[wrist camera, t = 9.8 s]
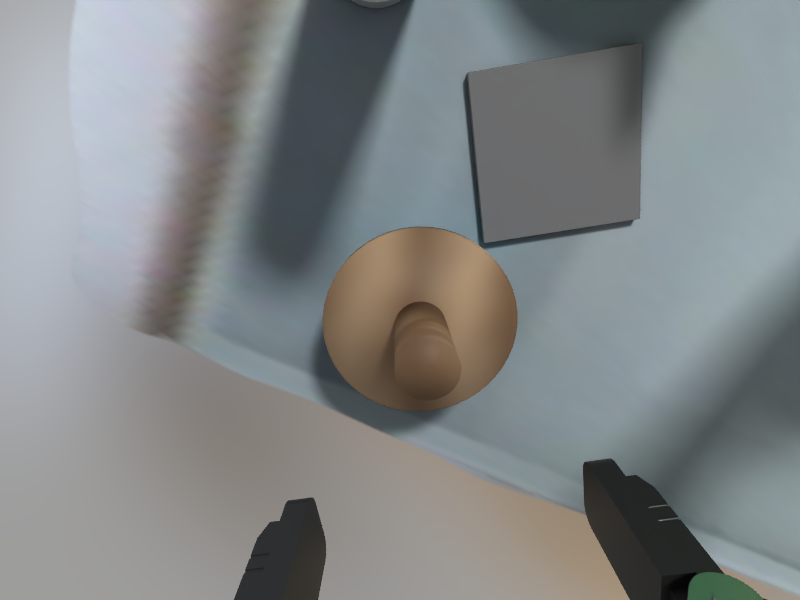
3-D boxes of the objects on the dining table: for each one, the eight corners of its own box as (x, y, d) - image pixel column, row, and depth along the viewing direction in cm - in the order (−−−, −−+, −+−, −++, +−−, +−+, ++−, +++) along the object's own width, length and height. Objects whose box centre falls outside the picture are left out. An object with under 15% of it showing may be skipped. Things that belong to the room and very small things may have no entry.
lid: (506, 211, 24) (546, 226, 18) (520, 391, 28) (558, 457, 21) (305, 243, 25) (274, 269, 18) (344, 416, 28) (330, 489, 22)
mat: (637, 45, 27) (642, 42, 26) (635, 217, 30) (639, 218, 29) (466, 74, 27) (468, 72, 26) (482, 241, 30) (484, 243, 30)
